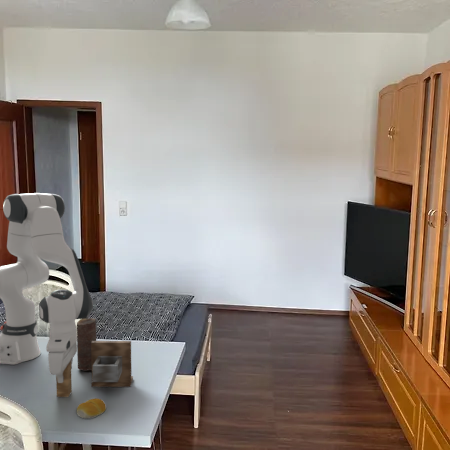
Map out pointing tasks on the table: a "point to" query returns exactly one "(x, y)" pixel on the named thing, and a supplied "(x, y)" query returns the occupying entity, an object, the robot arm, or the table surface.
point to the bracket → (111, 364)
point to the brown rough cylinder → (85, 342)
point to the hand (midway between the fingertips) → (65, 375)
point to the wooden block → (65, 383)
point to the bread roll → (91, 408)
